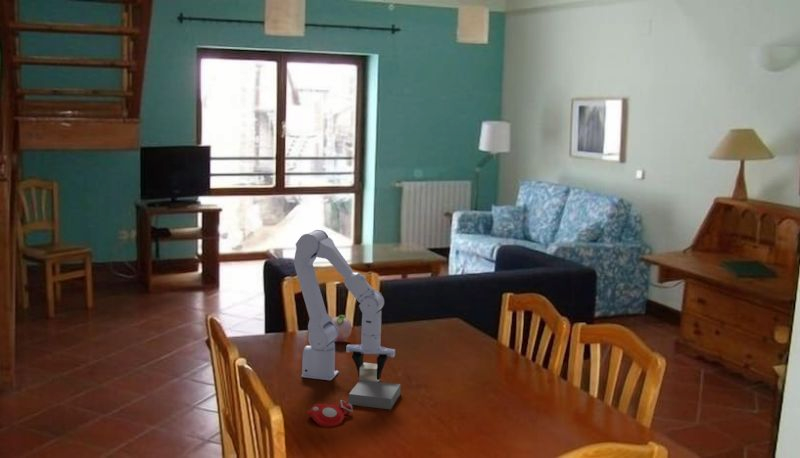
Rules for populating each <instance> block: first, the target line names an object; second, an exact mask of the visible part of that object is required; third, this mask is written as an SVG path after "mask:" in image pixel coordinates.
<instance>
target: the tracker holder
mask: <svg viewBox="0 0 800 458" xmlns="http://www.w3.org/2000/svg"><path fill="white" fill-rule="evenodd" d="M353 408H354V406H353V405H351V404H349V403H348V401H345V400H342V399H340V400H339V403H338V405H334V404H327V403H316V404H314V405H312V407H311V408H310V409H309V410H308V411H307V415H308V416H309V417H310V418H311V419H312V420H313V421H314V422H315V423H316V424H317V425H319V426H321V427H324V428H332V427H337V426H339V425H341V424H342V423H343V421H344V419H345V416H348V415H349V414H350V413H353V412H354V411H353Z"/></svg>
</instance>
